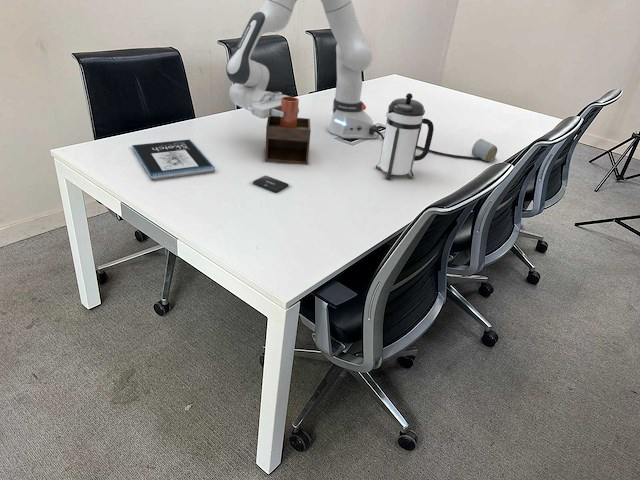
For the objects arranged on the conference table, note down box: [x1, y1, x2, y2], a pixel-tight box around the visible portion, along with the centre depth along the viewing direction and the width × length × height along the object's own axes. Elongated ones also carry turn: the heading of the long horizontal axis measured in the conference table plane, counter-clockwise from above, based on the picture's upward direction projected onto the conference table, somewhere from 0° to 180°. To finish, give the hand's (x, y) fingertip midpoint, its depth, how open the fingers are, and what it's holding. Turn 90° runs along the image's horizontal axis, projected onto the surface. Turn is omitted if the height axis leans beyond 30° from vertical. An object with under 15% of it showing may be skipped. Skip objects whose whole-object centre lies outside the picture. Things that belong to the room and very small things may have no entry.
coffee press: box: [375, 92, 435, 181], centre depth 168 cm, size 17×16×30 cm
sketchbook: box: [131, 138, 216, 181], centre depth 166 cm, size 22×30×2 cm
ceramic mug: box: [471, 138, 498, 162], centre depth 196 cm, size 11×8×8 cm
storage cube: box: [264, 116, 312, 165], centre depth 176 cm, size 16×13×14 cm
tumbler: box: [280, 96, 300, 128], centre depth 171 cm, size 6×6×12 cm
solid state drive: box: [252, 174, 289, 193], centre depth 157 cm, size 7×10×1 cm
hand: (291, 112), depth 170 cm, fingers closed on tumbler, 6 cm apart
